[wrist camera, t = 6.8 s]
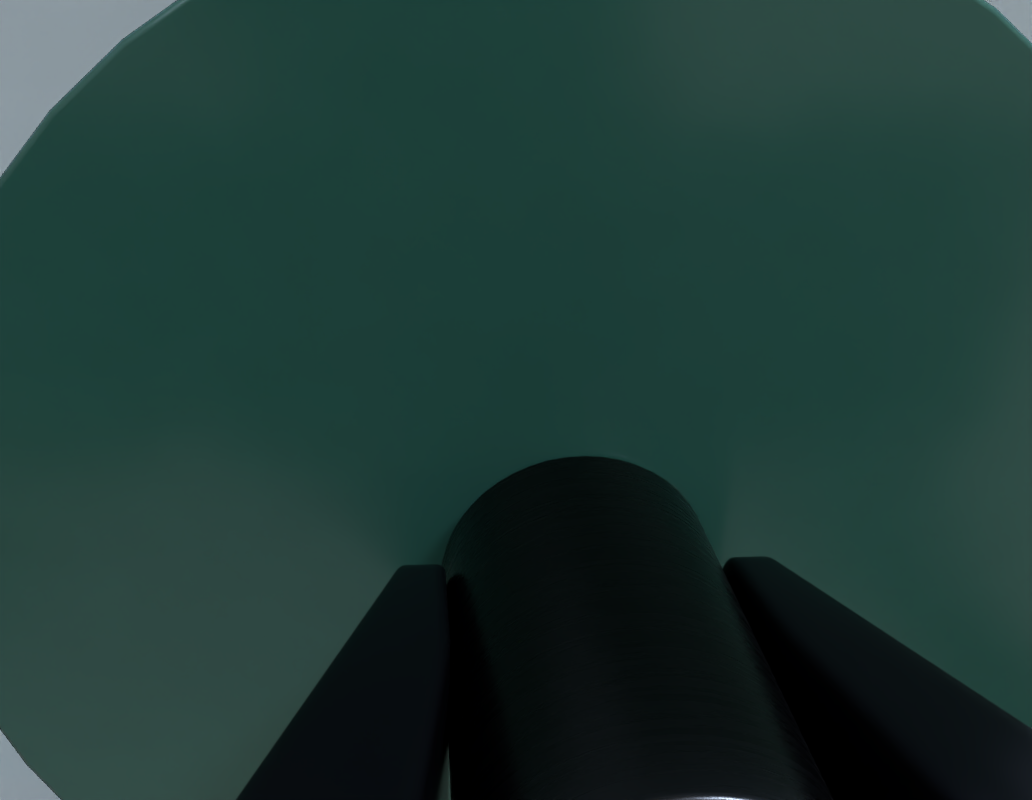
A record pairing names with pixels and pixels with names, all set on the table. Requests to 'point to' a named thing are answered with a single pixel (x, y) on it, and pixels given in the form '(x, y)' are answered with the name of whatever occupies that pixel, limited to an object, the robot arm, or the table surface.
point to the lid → (511, 376)
